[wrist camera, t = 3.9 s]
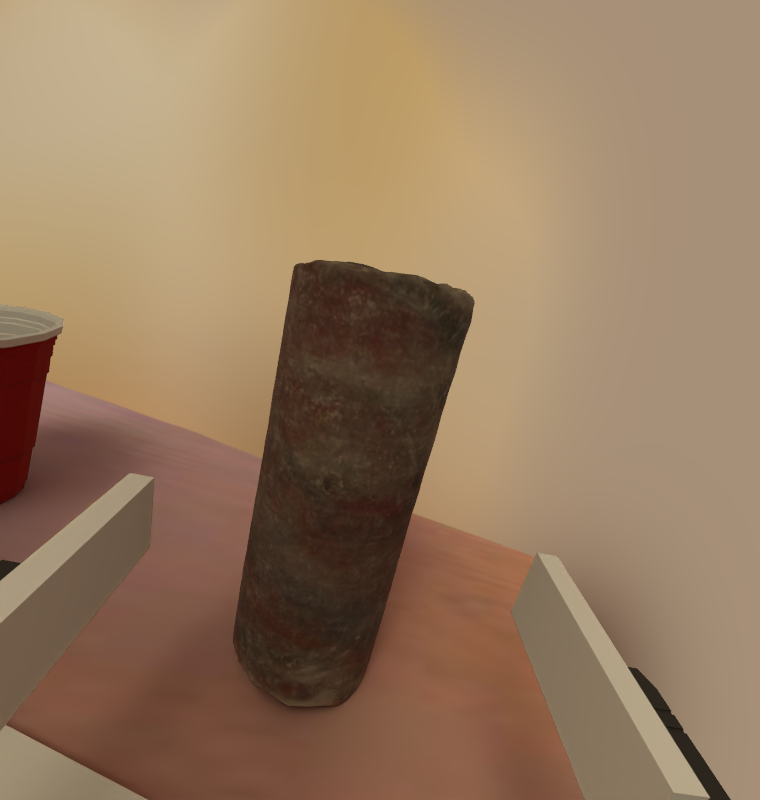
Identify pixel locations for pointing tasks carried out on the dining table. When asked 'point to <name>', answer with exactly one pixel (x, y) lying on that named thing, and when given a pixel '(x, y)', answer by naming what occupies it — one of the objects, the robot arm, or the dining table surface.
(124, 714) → the dining table surface
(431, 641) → the dining table surface
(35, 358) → the plastic cup
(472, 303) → the brown rough cylinder
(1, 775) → the mat
